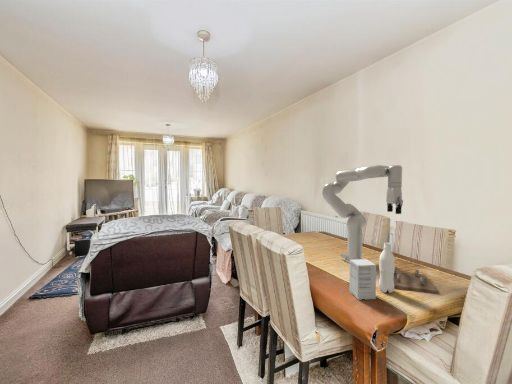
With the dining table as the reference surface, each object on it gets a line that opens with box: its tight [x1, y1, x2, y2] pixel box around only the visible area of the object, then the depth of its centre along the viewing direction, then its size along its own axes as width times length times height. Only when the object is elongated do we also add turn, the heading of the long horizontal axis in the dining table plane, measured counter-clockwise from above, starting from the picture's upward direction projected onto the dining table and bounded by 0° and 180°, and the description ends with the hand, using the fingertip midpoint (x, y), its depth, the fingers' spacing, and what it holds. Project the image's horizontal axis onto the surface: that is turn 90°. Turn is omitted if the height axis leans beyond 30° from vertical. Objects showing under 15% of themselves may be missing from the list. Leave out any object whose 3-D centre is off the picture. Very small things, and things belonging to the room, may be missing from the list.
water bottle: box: [378, 241, 396, 294], centre depth 129 cm, size 7×7×25 cm
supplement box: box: [348, 258, 377, 301], centre depth 125 cm, size 10×9×17 cm
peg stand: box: [394, 266, 439, 295], centre depth 140 cm, size 22×22×6 cm
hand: (394, 212), depth 157 cm, fingers open, 9 cm apart
